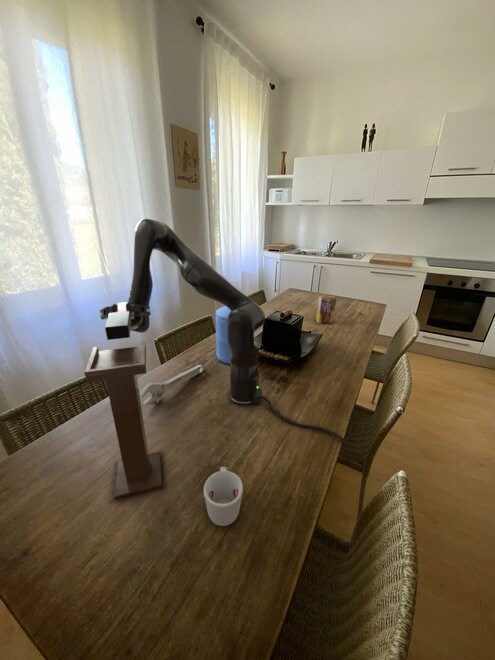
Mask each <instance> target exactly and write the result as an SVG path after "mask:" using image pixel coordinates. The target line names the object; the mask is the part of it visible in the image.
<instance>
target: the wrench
mask: <svg viewBox="0 0 495 660" xmlns="http://www.w3.org/2000/svg"><path fill="white" fill-rule="evenodd" d="M204 368H205V367H204V365H203V364H197V365H195V366H192V367H191V368H189V369H187V370H185V371H184V372H181V373H179V374H177V375H176V376H174V377H171V378H170V379H168V380H166V381H163V382H147V383H146V384H144V385H143V387H142V388H141V389H140V390H139V396H140V398H144V397H145V396H146V395H147V394H148V393H149V392H150V393H149V396H148V397H147V398H145V400H144V401H143V403H142V404H143V405H145V406H149V405H153V404H154V403H156V404H159V402H160V400H161V398H162V397H163V396H164V395H165V394H166V393H168V391H169V390H171V389H173V388H175V387H177V386H179V385H180V384H182V383H185V382H186V381H188V380H190V379H192V378H194V377H196V376H197V375H199V374H201V373H203V372H204V370H205V369H204Z"/></svg>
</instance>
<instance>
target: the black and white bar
mask: <svg viewBox="0 0 495 660" xmlns="http://www.w3.org/2000/svg"><path fill="white" fill-rule="evenodd" d="M123 302H124V303H123ZM123 302H118V303H117V311H116V312H113V313H109V315H108V318H106V322H105V326H104V330H105V334H106V340H107V341H111V340H120V339H121V340H122V339H129V338H131V330H130V329H131V318H130V312H129V311H126V303H128V301H123Z"/></svg>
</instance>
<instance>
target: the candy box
mask: <svg viewBox="0 0 495 660" xmlns="http://www.w3.org/2000/svg"><path fill="white" fill-rule="evenodd" d="M336 302H337V297H336V296H334V295H325V296H324V295H322V296H321V295H320V296H318V302H317V310H316V318H315V322H316V323H317V324H333V323H334V316H335V310H336V309H335V307H336Z"/></svg>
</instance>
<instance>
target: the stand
mask: <svg viewBox="0 0 495 660" xmlns="http://www.w3.org/2000/svg"><path fill="white" fill-rule="evenodd" d="M146 345H147V344H146V341H141V342H140V346H139V345H138V346H132V347H123V348H115V349H114V348H113V349H105V350H99V346H93V347H92V350H91V353H90V356H89V358H88V361H87V364H86V366H85V369H84V371H83V372H84V376H85V377H84V378H85V380H86V382H87V383H88V382H95V381H103V380H105V384H106V389H107V394H108V399H109V403H110V407H111V413H112V416H113V422H114V427H115V432H116V438H117V442H118V448H119V451H120V456H121V457H120V458H121V459H120V460H118V461H117V467H116V478H115V486H114V500H119V499H123V498H127V497H131V496H135V495H139V494H142V493H146V492H150V491H154V490H158V489H162V487H163V483H162V467H161V465H162V464H161V452H160V451H156V452H152V453H149V447H148V443H147V435H146V430H145V423H144V417H143V416H144V415H143V410H142V409H143V408H142V402H141V396H139V393H140V390H139V389H140V388H139V384H138V377H137V376H138V375H144V374H145V375H146V374H147V346H146Z"/></svg>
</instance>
